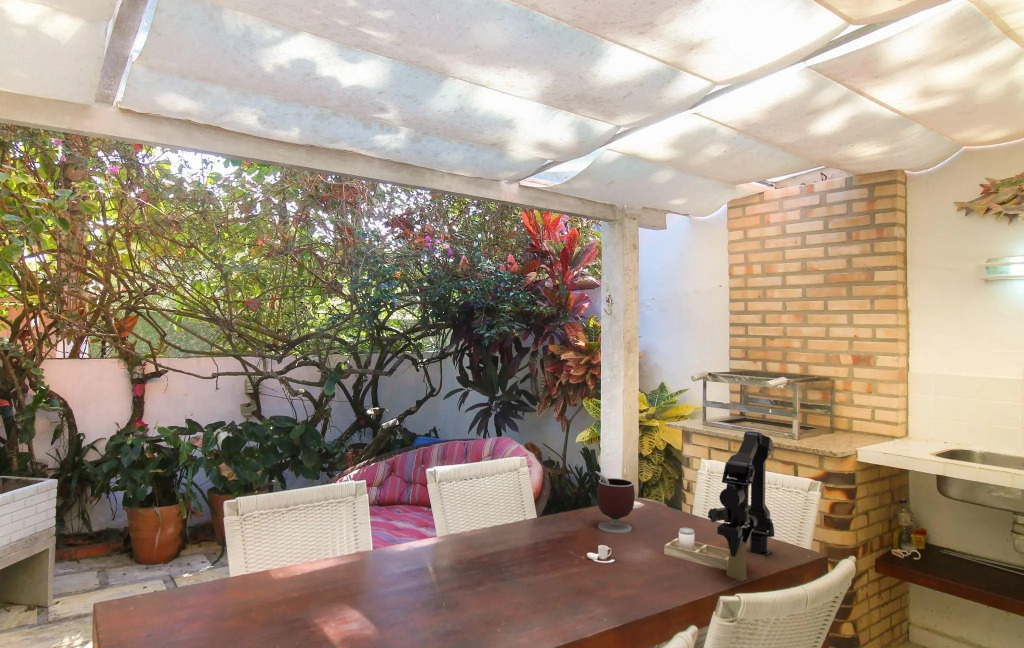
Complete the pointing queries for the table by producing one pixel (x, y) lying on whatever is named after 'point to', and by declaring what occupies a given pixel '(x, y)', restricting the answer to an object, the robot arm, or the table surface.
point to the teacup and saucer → (601, 554)
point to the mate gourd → (615, 502)
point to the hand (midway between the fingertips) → (736, 553)
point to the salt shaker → (686, 539)
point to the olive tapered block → (737, 564)
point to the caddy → (699, 554)
